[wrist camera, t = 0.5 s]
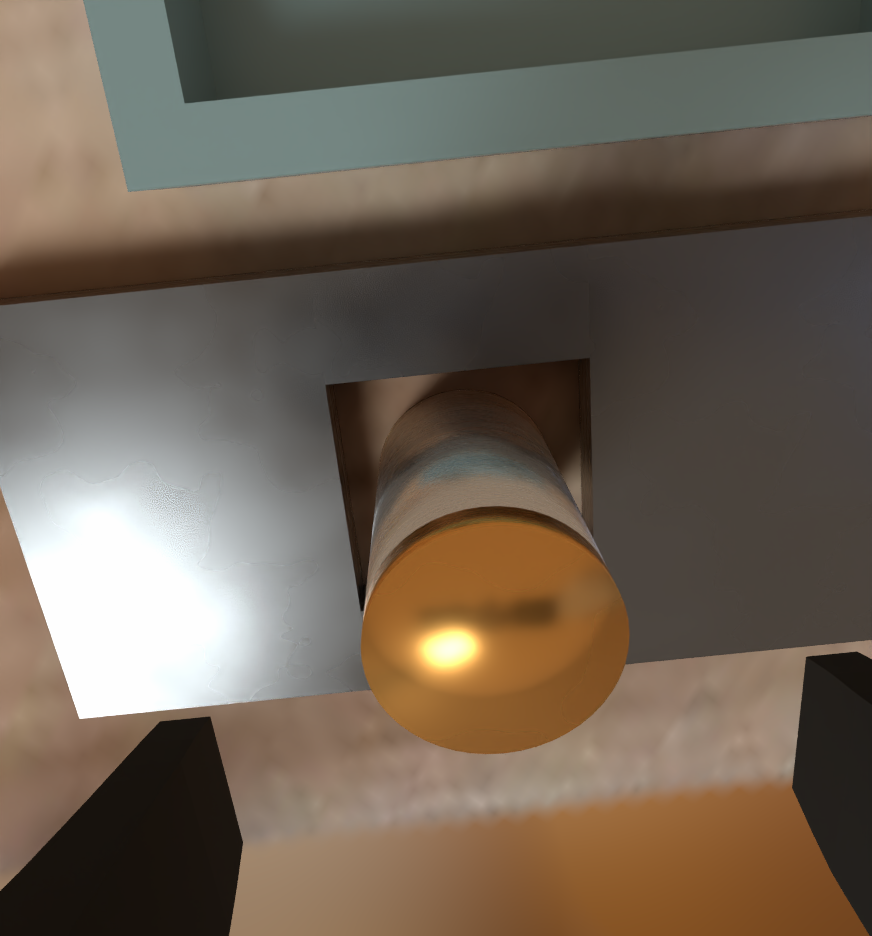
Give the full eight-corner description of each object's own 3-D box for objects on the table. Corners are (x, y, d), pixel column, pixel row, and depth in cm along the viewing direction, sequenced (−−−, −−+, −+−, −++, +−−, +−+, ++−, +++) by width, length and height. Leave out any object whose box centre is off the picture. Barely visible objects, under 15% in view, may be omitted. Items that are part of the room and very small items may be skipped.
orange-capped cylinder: (545, 380, 17) (630, 513, 10) (552, 538, 18) (629, 740, 12) (368, 398, 17) (342, 542, 10) (390, 554, 18) (378, 765, 12)
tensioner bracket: (919, 204, 16) (959, 207, 15) (864, 610, 19) (891, 637, 18) (-27, 301, 16) (-60, 312, 15) (98, 687, 19) (79, 718, 18)
